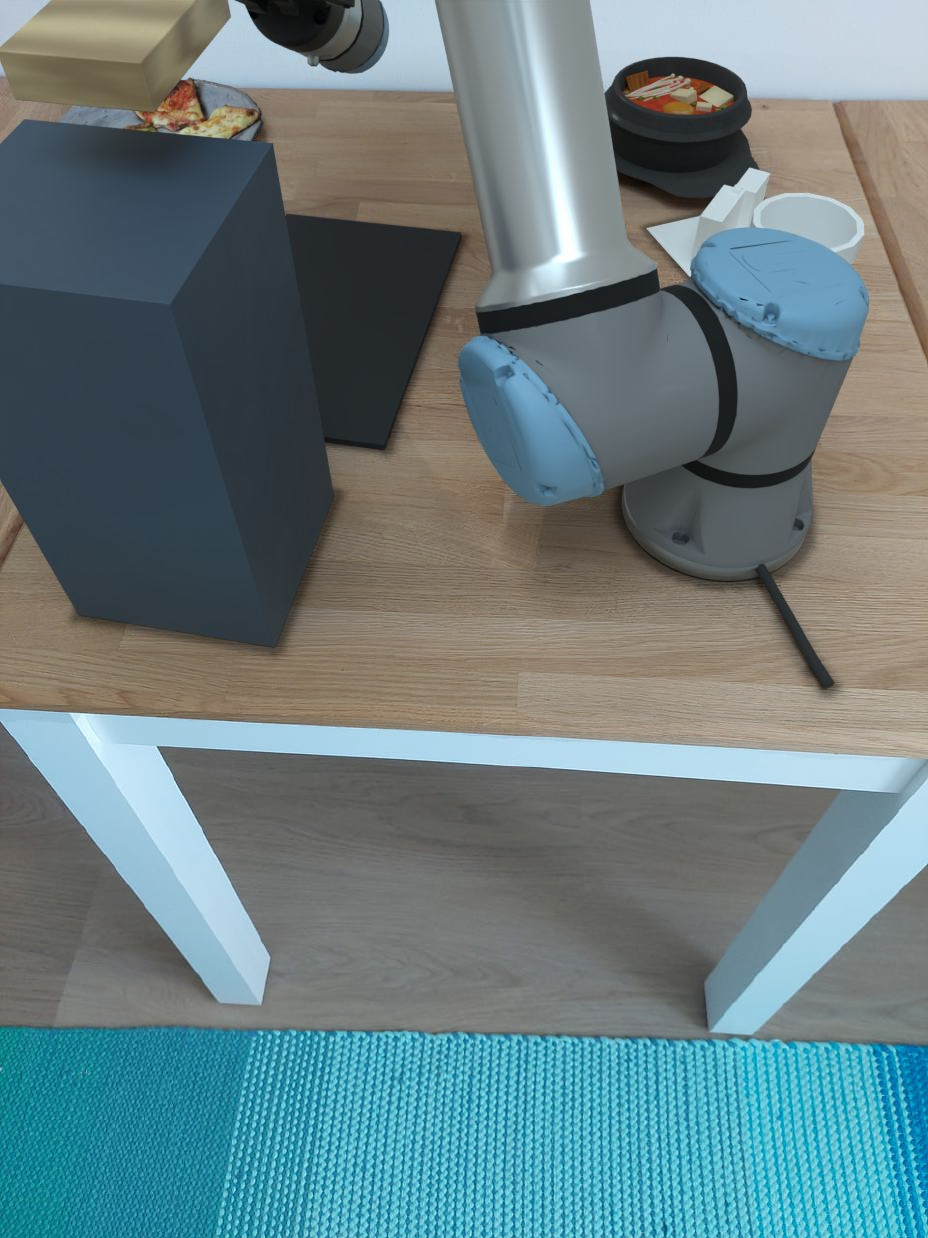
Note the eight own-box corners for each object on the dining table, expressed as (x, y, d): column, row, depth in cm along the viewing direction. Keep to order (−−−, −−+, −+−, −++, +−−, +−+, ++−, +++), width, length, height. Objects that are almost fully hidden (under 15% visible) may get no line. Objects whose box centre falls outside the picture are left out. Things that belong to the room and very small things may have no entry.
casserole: (549, 128, 116) (554, 55, 109) (676, 97, 121) (688, 25, 114) (656, 229, 103) (669, 154, 96) (794, 190, 107) (816, 115, 100)
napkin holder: (697, 284, 97) (708, 234, 92) (644, 228, 103) (652, 177, 98) (819, 253, 100) (836, 202, 95) (761, 200, 106) (774, 150, 101)
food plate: (208, 78, 125) (202, 49, 122) (300, 147, 114) (295, 118, 111) (30, 136, 116) (19, 107, 113) (110, 217, 105) (100, 187, 102)
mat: (287, 218, 105) (286, 213, 104) (461, 236, 102) (461, 231, 102) (172, 420, 85) (170, 415, 84) (384, 450, 83) (384, 445, 82)
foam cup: (819, 384, 87) (866, 258, 77) (719, 372, 88) (752, 247, 78) (817, 322, 93) (861, 197, 82) (723, 311, 94) (754, 187, 83)
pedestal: (158, 470, 81) (24, 118, 57) (334, 495, 79) (273, 142, 55) (77, 614, 72) (-123, 268, 48) (275, 647, 70) (170, 303, 46)
